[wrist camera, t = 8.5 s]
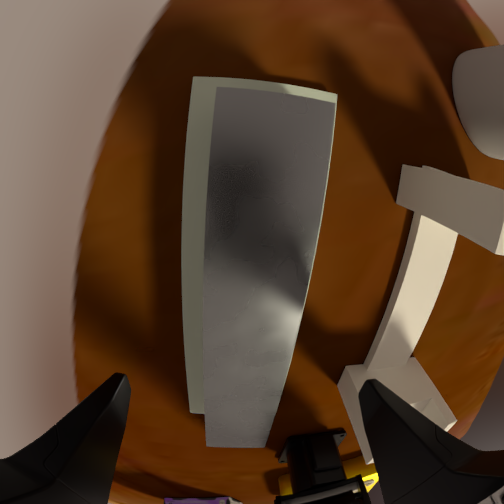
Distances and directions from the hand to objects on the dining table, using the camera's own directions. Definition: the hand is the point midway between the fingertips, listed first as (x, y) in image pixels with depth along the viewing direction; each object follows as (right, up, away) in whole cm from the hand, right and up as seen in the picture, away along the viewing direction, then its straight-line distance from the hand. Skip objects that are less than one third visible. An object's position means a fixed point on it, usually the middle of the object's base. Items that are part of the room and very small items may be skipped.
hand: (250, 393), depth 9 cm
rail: (0, +2, +6) cm, 7 cm away
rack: (+12, +2, +8) cm, 14 cm away
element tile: (+12, -31, +22) cm, 40 cm away
